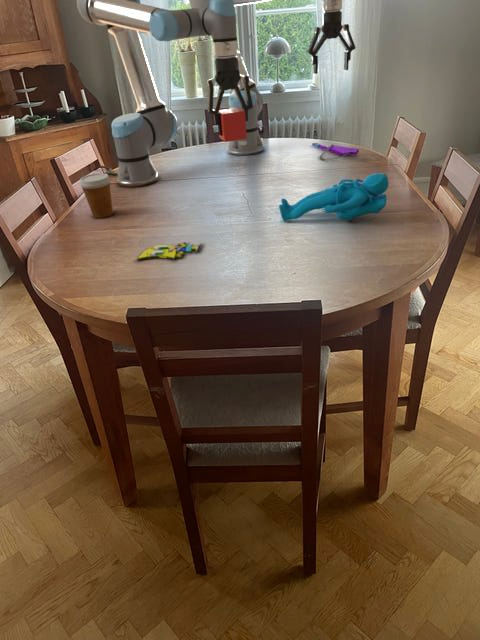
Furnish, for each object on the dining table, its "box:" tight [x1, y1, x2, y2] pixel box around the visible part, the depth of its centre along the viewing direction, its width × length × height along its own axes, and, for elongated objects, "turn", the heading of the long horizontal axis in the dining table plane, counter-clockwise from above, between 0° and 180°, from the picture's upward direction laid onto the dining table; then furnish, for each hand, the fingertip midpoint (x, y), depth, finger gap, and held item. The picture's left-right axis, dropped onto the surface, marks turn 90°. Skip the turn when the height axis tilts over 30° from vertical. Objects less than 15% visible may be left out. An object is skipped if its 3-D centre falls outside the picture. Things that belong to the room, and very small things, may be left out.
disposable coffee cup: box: [79, 172, 114, 219], centre depth 152 cm, size 10×10×12 cm
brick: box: [218, 107, 247, 143], centre depth 161 cm, size 8×8×9 cm
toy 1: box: [137, 241, 202, 262], centre depth 126 cm, size 10×1×15 cm
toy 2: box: [278, 172, 389, 222], centre depth 135 cm, size 17×11×30 cm
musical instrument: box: [311, 142, 360, 160], centre depth 196 cm, size 24×2×20 cm
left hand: (232, 133), depth 163 cm, fingers closed on brick, 8 cm apart
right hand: (330, 71), depth 200 cm, fingers open, 13 cm apart
